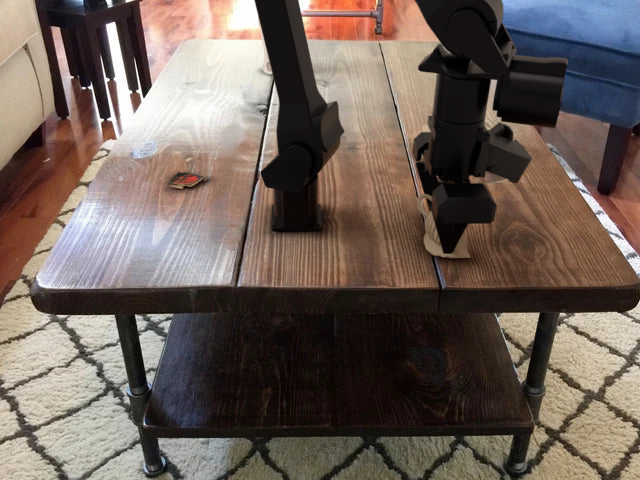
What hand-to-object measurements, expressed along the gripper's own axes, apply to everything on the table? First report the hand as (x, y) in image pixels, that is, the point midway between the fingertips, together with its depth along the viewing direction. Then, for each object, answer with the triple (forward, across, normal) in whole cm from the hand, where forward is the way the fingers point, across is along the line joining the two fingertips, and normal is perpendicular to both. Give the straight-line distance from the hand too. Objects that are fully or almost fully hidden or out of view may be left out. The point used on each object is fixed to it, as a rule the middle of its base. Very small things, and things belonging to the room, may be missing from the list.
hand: (442, 237), depth 79 cm
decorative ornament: (+1, 0, 0) cm, 1 cm away
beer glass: (+1, +70, +22) cm, 73 cm away
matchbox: (+1, +18, +34) cm, 38 cm away
